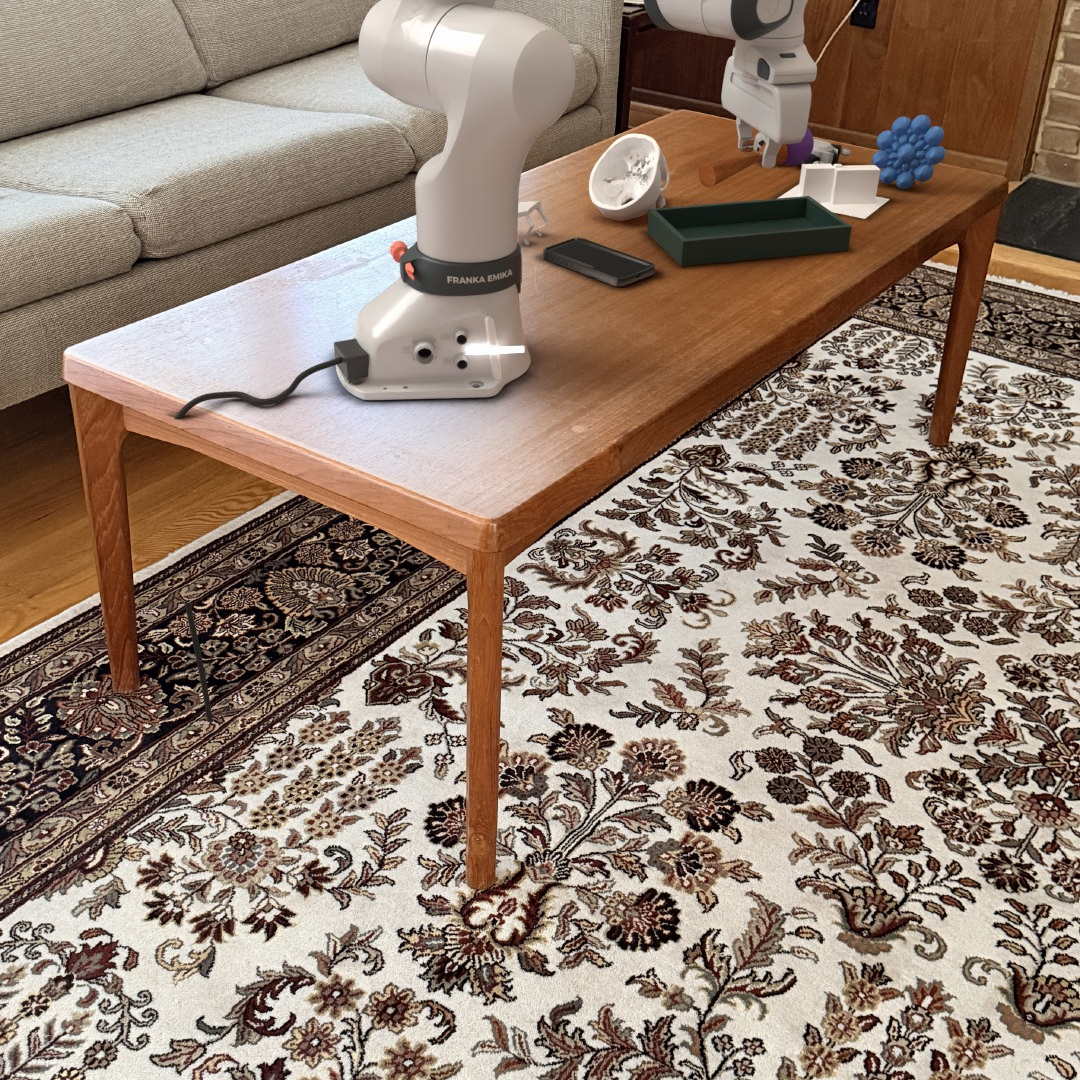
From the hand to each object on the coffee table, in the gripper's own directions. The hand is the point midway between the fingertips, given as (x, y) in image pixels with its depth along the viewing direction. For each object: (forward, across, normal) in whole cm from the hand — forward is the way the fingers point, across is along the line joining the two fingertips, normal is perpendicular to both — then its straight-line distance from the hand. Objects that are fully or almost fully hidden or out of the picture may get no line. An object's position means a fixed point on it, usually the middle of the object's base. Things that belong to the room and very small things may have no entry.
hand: (756, 158), depth 171 cm
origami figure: (+12, -8, -34) cm, 37 cm away
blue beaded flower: (+12, -17, +35) cm, 41 cm away
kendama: (+2, 0, 0) cm, 2 cm away
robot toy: (+12, -33, +24) cm, 43 cm away
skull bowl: (+12, -16, -12) cm, 23 cm away
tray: (+12, 0, 0) cm, 12 cm away
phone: (+12, +4, -24) cm, 27 cm away
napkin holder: (+12, -14, +21) cm, 28 cm away
